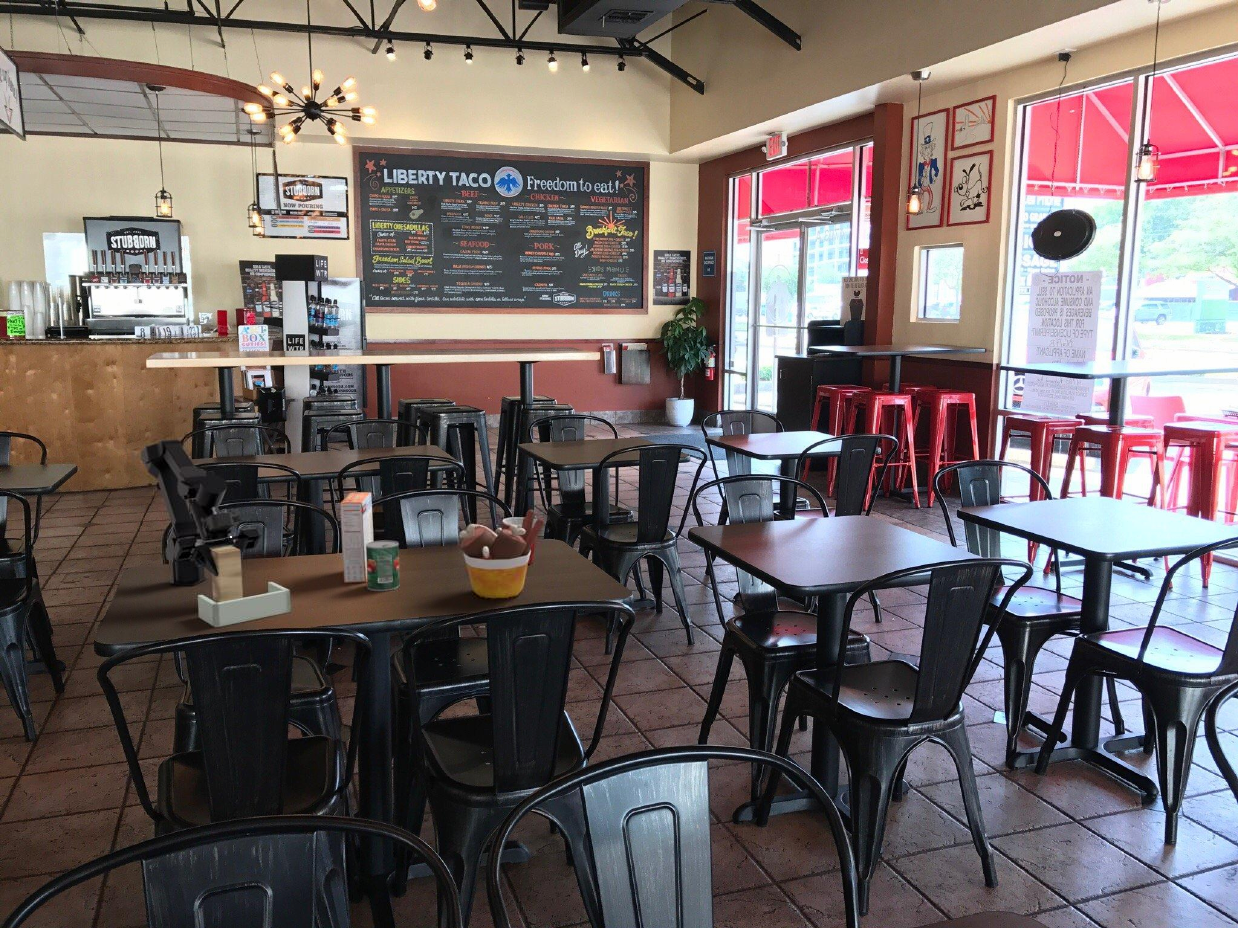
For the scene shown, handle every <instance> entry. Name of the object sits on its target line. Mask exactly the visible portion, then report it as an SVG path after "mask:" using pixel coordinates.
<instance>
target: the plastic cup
mask: <svg viewBox="0 0 1238 928" xmlns="http://www.w3.org/2000/svg"><path fill="white" fill-rule="evenodd" d="M524 518H525V517H522V516H521V517H520V516H519V517H516V516H515V517H514V516H513V517H507V518H506V517H505V518H503V519H502V524H503V525H504V529H506V530H507V529H509V528H510V525H512V524H513V525H516V526H517V527H520V528H522V522H523V519H524ZM536 520H537V519H535V518H534V522H533V526H534V524H535V522H536ZM537 540H538V537H537V538H536V540H535V542H534V544H533V546H532V547H531V549H530V550H531V553H530V556H529V561H528V564H530V565H532V564H533V563H532V562H533V561H534V558H535V552H536V548H537V542H538V541H537ZM531 563H532V564H531Z"/></svg>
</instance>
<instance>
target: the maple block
mask: <svg viewBox="0 0 1238 928" xmlns="http://www.w3.org/2000/svg"><path fill="white" fill-rule="evenodd" d="M210 554H211V556H212V559H213V561H214V563H215V565H216V567H217V571H218V576H217V577H216V576H214V575H213V574H212V573H211V582H212V583H211V585H212V586H211V587H212V601H214V602H216V603H219V602H224V601H230V600H235V599H240V598H244V593H243V590H244V589H243V576H242V574H243V569H242V570H241V551H240V549H237V548H235V547H233V546H224V547H217V548H211V549H210Z"/></svg>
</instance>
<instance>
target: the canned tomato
mask: <svg viewBox="0 0 1238 928" xmlns="http://www.w3.org/2000/svg"><path fill="white" fill-rule="evenodd" d="M399 551H400V550H399V542H398V541H395V540H376V541H374V540H373V542H370V543H367V544H366V557H367V558H366V559H367V581H366V583H367V587H366V589H368V591H371V592H372V591H373V592H388V590H389V591H394V590H397V589H398V587H399V586H401V584H400V554H399V553H400V552H399ZM399 588H400V587H399ZM393 589H394V590H393Z"/></svg>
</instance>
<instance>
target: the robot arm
mask: <svg viewBox="0 0 1238 928" xmlns="http://www.w3.org/2000/svg"><path fill="white" fill-rule="evenodd" d="M140 456H141V458H140V459H141V462H142V464H143V465H144V466H145V468H146V471H147V473H149V474H150V475H151V476H152V477H154V478H155V479H156V480H157V483H158V486H159V488H160V492H161V495H162V498H163V501H164V505H165V506H166V510H167V513H168V516H169V519H170V522H171V523H170V524H171V525H172V529H171V531H170V534H169V536H168V543H167V545H166V548H165V558H166V560H167V561H169V562H171V563H172V565H171V566H172V576H173V577H172V579H173V580H172V581H170V582H169V585H174V586H175V585H176V586H195V585H197V584H199V583H202V582H203V580H204V581H205V580H207V579H208V578H207V576H206V575H205V573H206V572H205V569H206V570H208V572H209V573H211V575H212V574H213V575H214V576H216V577H217V576H218V571H217V567H216V565H215V563H214V561H213V559H212V556H211V553H210V549H216V548H222V547H229V546H233V547H235V548H237V549H240V551H241V570H242V571H243V569H242V567H243V553H244V552H245V551H247V550H254V549H255V548H256V547H257V545H258V543H259V541H260V539H261V536H262V535H261V532H260V530H259V529H258V528H257V527H249V528H241V529H240V530H239V533H238V535H233V536H229V535H230V534H231V533H232V527H235V525H236V524H239V523H240V522H241V521H242V518H241V514H240V511H239V509H238V508H234V509H230V510H228V511H227V512H220V510H219V506H220V505H221V503H222V500H223V498H224V495H225V493H226V491H227V489H228V482H227V480H225V478H223V476H221V475H219V474H215V472H214V470H210V471H206V470H205V469H202V468H199V467H197V466H196V465H195V464H194V462H193V461H192V459H191V458H190V456H189V455H188V453H187V452H186V450H185V449H184V447H183V443H182V441H181V440H180V439H177V438H175V439H163V440H160V441H158V442H157V443H154V444H150V445H146V446H145V447H144V448H143V449H142V450H141V452H140ZM188 500H192V501H191V503H190V505H189V506H188V504H187V501H188ZM201 581H202V582H201Z"/></svg>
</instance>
